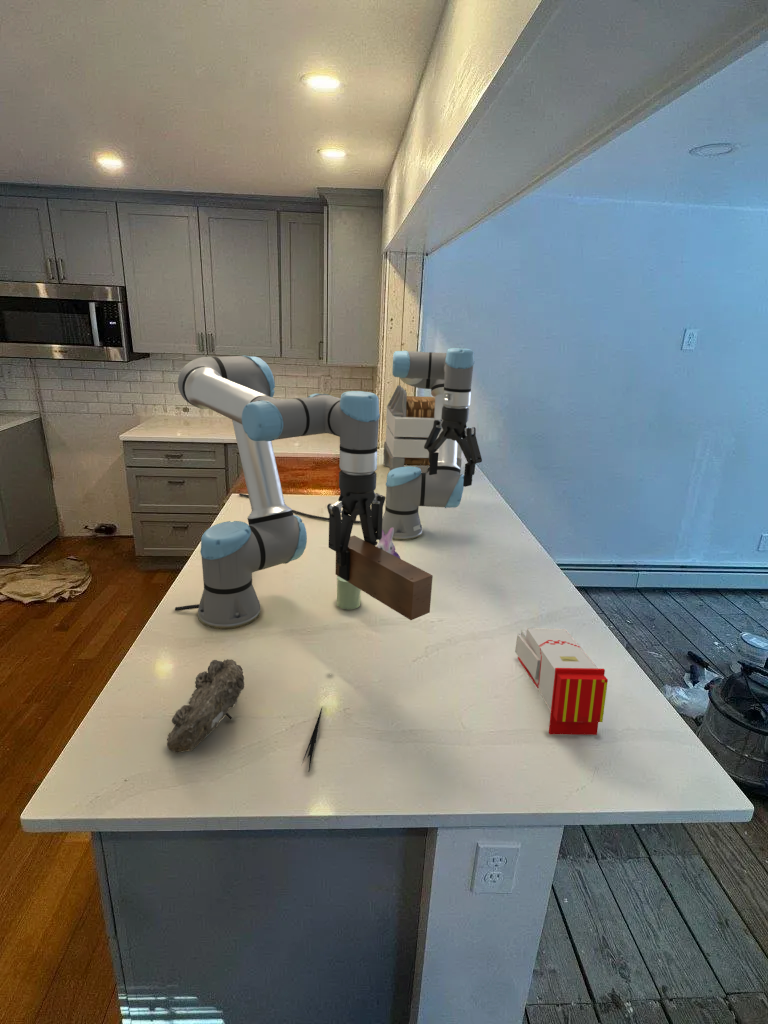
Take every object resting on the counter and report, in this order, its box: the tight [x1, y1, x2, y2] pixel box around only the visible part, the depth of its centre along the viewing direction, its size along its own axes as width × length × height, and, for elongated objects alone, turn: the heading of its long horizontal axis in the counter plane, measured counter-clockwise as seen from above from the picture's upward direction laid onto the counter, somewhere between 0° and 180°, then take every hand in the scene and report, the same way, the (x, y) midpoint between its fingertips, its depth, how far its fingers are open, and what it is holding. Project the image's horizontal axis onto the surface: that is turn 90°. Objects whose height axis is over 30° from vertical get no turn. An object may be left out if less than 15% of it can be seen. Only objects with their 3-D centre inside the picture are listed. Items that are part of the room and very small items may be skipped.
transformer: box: [383, 384, 463, 472], centre depth 268 cm, size 34×33×41 cm
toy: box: [514, 627, 609, 736], centre depth 119 cm, size 12×13×30 cm
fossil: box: [166, 658, 245, 754], centre depth 106 cm, size 22×10×15 cm
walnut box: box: [335, 535, 434, 621], centre depth 115 cm, size 24×5×8 cm, turn 41°
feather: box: [301, 673, 332, 771], centre depth 108 cm, size 2×28×2 cm
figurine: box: [376, 528, 402, 559], centre depth 165 cm, size 9×10×15 cm
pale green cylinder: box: [336, 575, 362, 611], centre depth 150 cm, size 6×6×8 cm
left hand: (354, 574), depth 122 cm, fingers closed on walnut box, 5 cm apart
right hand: (449, 479), depth 164 cm, fingers open, 13 cm apart
